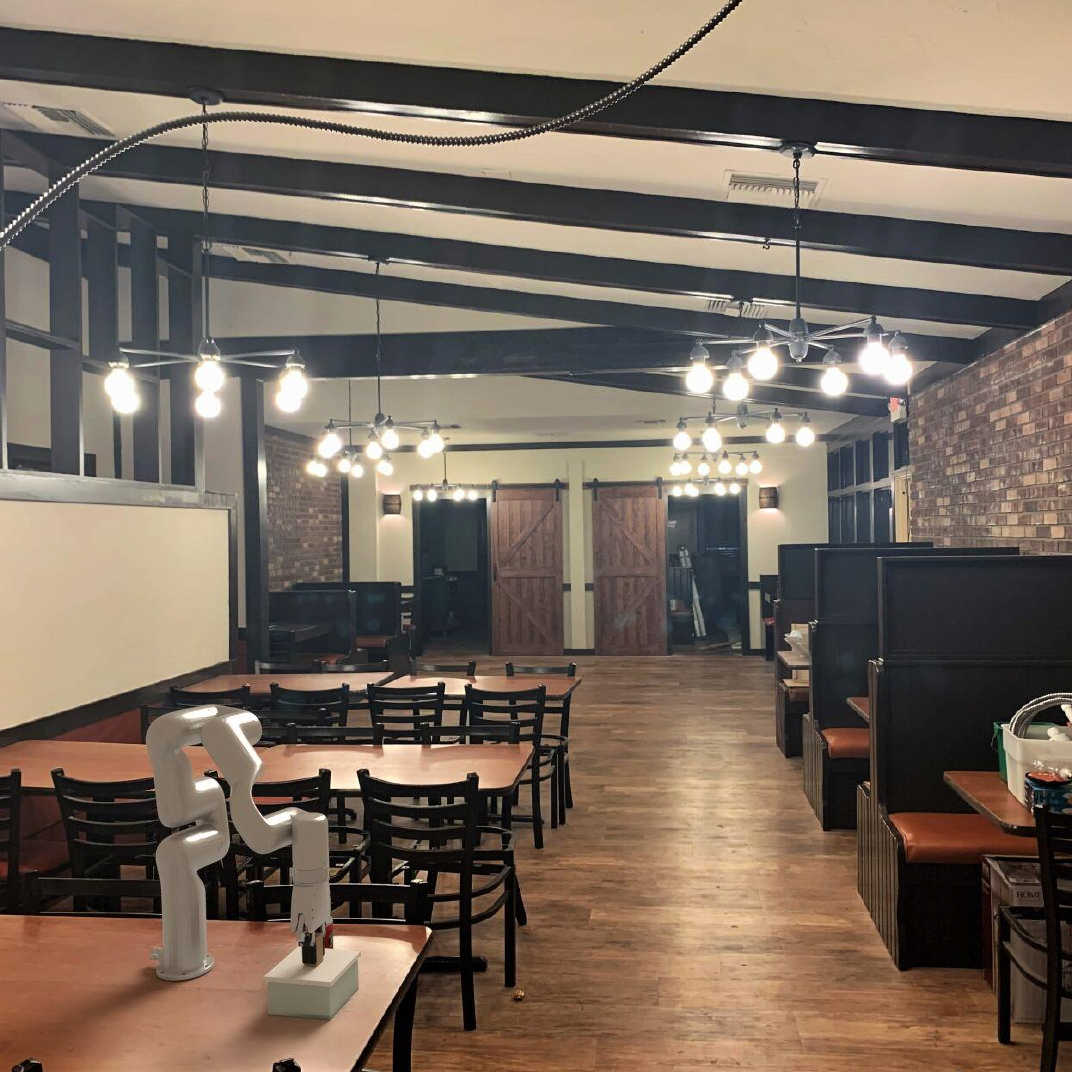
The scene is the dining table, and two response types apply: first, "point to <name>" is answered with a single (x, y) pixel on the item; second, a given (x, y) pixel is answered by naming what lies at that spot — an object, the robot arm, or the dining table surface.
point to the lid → (313, 966)
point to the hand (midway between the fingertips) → (313, 958)
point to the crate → (312, 997)
